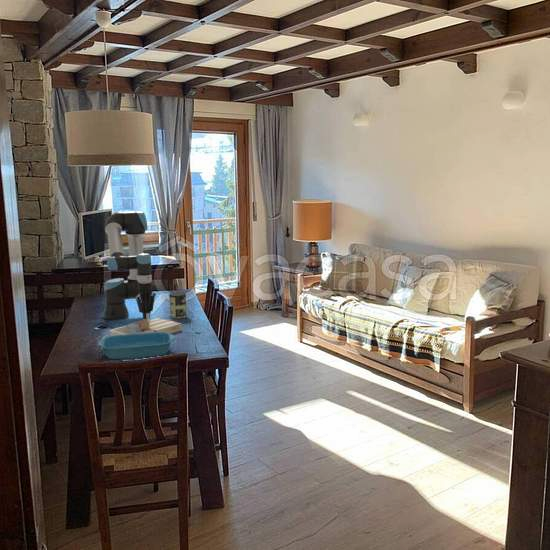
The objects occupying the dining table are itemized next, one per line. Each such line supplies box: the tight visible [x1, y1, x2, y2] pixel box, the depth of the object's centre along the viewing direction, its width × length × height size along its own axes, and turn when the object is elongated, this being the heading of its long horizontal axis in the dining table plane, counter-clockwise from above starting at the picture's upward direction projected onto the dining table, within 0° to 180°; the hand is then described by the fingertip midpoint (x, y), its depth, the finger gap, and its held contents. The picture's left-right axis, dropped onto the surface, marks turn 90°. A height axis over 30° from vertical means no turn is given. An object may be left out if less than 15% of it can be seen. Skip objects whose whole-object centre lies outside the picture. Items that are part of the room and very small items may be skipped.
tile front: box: [127, 322, 141, 334], centre depth 303 cm, size 6×6×3 cm
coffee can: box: [168, 292, 188, 319], centre depth 348 cm, size 10×10×14 cm
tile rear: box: [133, 320, 149, 329], centre depth 306 cm, size 6×6×3 cm
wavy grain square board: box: [141, 317, 183, 334], centre depth 315 cm, size 20×18×4 cm
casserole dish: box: [97, 332, 176, 360], centre depth 276 cm, size 37×22×7 cm, turn 103°
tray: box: [108, 324, 154, 337], centre depth 302 cm, size 18×16×4 cm
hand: (146, 324), depth 309 cm, fingers closed
